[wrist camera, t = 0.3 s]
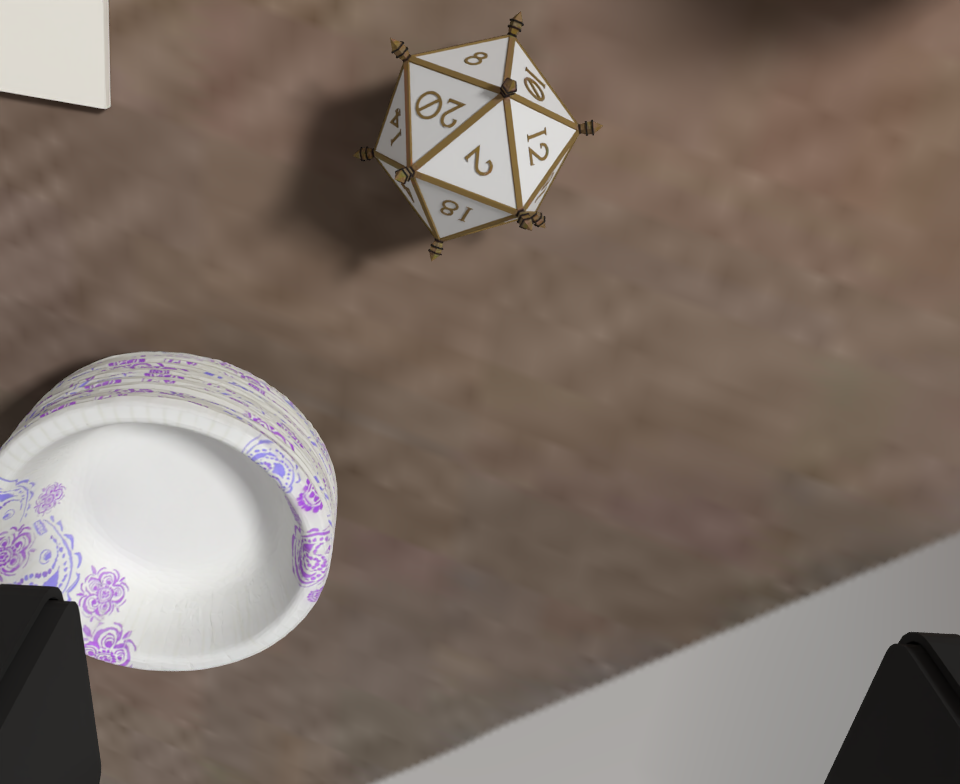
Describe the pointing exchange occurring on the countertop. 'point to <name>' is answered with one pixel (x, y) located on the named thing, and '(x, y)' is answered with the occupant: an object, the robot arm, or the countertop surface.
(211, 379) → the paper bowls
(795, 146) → the countertop surface
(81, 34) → the mat
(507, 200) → the game die
